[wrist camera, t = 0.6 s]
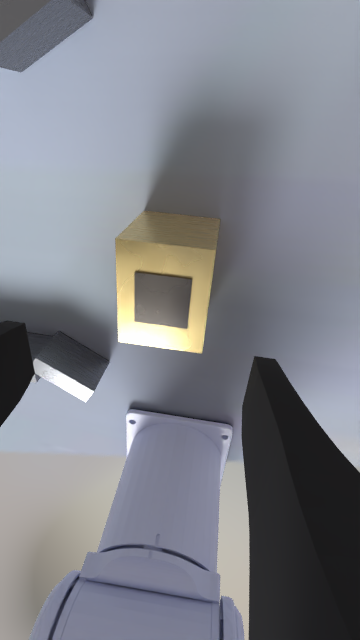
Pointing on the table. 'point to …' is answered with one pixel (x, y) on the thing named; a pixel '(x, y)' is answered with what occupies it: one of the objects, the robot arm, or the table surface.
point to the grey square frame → (18, 54)
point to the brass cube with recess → (165, 280)
